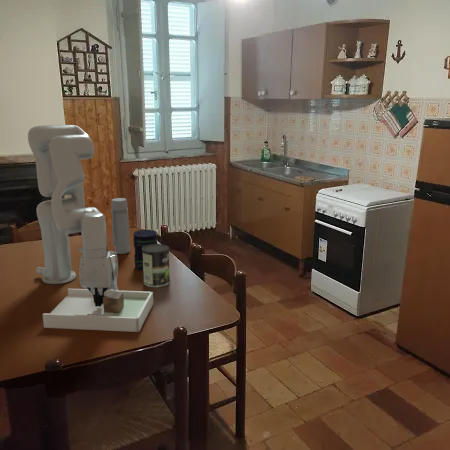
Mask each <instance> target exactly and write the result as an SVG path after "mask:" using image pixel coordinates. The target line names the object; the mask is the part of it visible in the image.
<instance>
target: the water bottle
mask: <svg viewBox="0 0 450 450" xmlns="http://www.w3.org/2000/svg"><path fill="white" fill-rule="evenodd" d="M128 210H129V207H128V201H127V198H126V197H125V198H124V197H117V198H113V199H111V210H110V213H111V219H112V220H111V244H112V246H113V248H114V249H113V250H114V252H116V253H117V255H125V254H126V255H127V254H128V253H130V251H131V245H130V244H131V243H130V225H129V223H130V222H129V211H128Z"/></svg>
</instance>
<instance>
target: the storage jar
mask: <svg viewBox="0 0 450 450" xmlns="http://www.w3.org/2000/svg"><path fill="white" fill-rule="evenodd" d="M132 236H133V239H132V240H133V247H134V255H133V258H134V259H133V260H134V261H133V262H134V269H136V270H137V271H141V272H143V253H142V248H143V247H144V246H147V245H151V244H159V243H158V232H157V230H154V229H140V230H136V231H134V232H133V235H132Z"/></svg>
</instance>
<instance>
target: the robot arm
mask: <svg viewBox="0 0 450 450" xmlns="http://www.w3.org/2000/svg"><path fill="white" fill-rule="evenodd" d="M27 140H28V141H27V142H28V146H29V148H30V151H31V153H32V154H33V157H34V159H35V167H36V168H35V169H36V176H37V186H38V187H37V188H38V192H39V193H40V195H41V196H43V197H45V198H51V199H49V200H44V201H41V202H40V203H39V204H37V207H36V210H35V211H36V216H37V220H38V223H39V227H40V233H41V240H42V248H43V249H42V250H43V259H44V267H42V266H37V267H36V270H35V271H36V274H38V275H39V274H40V275H42V276H41V279H42V280H41V281H42V282H43V283H44V284H49V285H61V284H65V283H67V284H68V283H70V282H71V281H74V280H75V279H76V277H77V273H76V272H75V271H74V270H72V262H71V261H72V260H71V251H70V249H71V248H70V240H69V235H71V234H77V233H81V246H82V247H79V248H78V252H79V253H82V255H81V256H80V259H79V270H78V272H79V273H78V274H79V275H78V277H79V285H80V287H81V289H88V290H89V291H90V292H91V293H92V295H93V298H94V303H95V306H99V307H100V306H101V305H102V304H103V297H104V292H105V291H106V290H110V289H113V288H114V287H115V285H114V271H113V265H112V261H111V257H110V254H108V251H109V249H108V239H107V238H108V236H107V224H106V223H107V221H106V216H105V214H104V213H102V212H101V211H100V210H99V209H98V208H96V207H93V206H89V207H86V204H85V202H86V201H85V191H84V189H85V188H84V181H85V178H86V175H85V172H84V169H83V166H82V162H81V160H89V159H91V158H93V157H94V154H95V146H94V141H93V140H92V138H91V137H90V136H89V134H88V133H87V132H85V131H84V130H83V128H81V127H80V126H78V125H75V124H49V125H48V124H47V125H37V126H33V127H31V128H29V130H28V133H27ZM63 196H69V197H64V198H63ZM98 290H99V291H98Z"/></svg>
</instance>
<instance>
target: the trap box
mask: <svg viewBox="0 0 450 450" xmlns="http://www.w3.org/2000/svg"><path fill="white" fill-rule="evenodd" d="M98 291H99V289H98ZM108 292H123V299H124V307H123V308H122V310H121V311H120V313H106V312H104V306H103V304H102V305H101V306H100V307H99V306H95V303H94V298H93V295H92V293H91V292H90V291H89V290H88V289H85V288H70V287H69V288H67V294H66V296H65V297H64V299H62V300H61V301H60V302H59V303H58V304H57V306H55V308H54V309H52V311H51V312H50V313H45V312H44V313H42V321H43V328H44V329H45V328H47V329H68V330H85V331H87V330H89V331H107V332H108V331H110V332H111V331H112V332H115V331H116V332H132V333H139V332H140V331H141V329H142V327H143V325H144V324H145V323H144V322H145V321H146V319H147V317H148V315H149V313H150V311H151V309H152V308H153V305H154V304H155V303H154V291H142V290H141V291H140V290H139V291H137V290H119V289H118V290H106V291H105V292H104V296H105V295H106V294H107V293H108Z"/></svg>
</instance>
